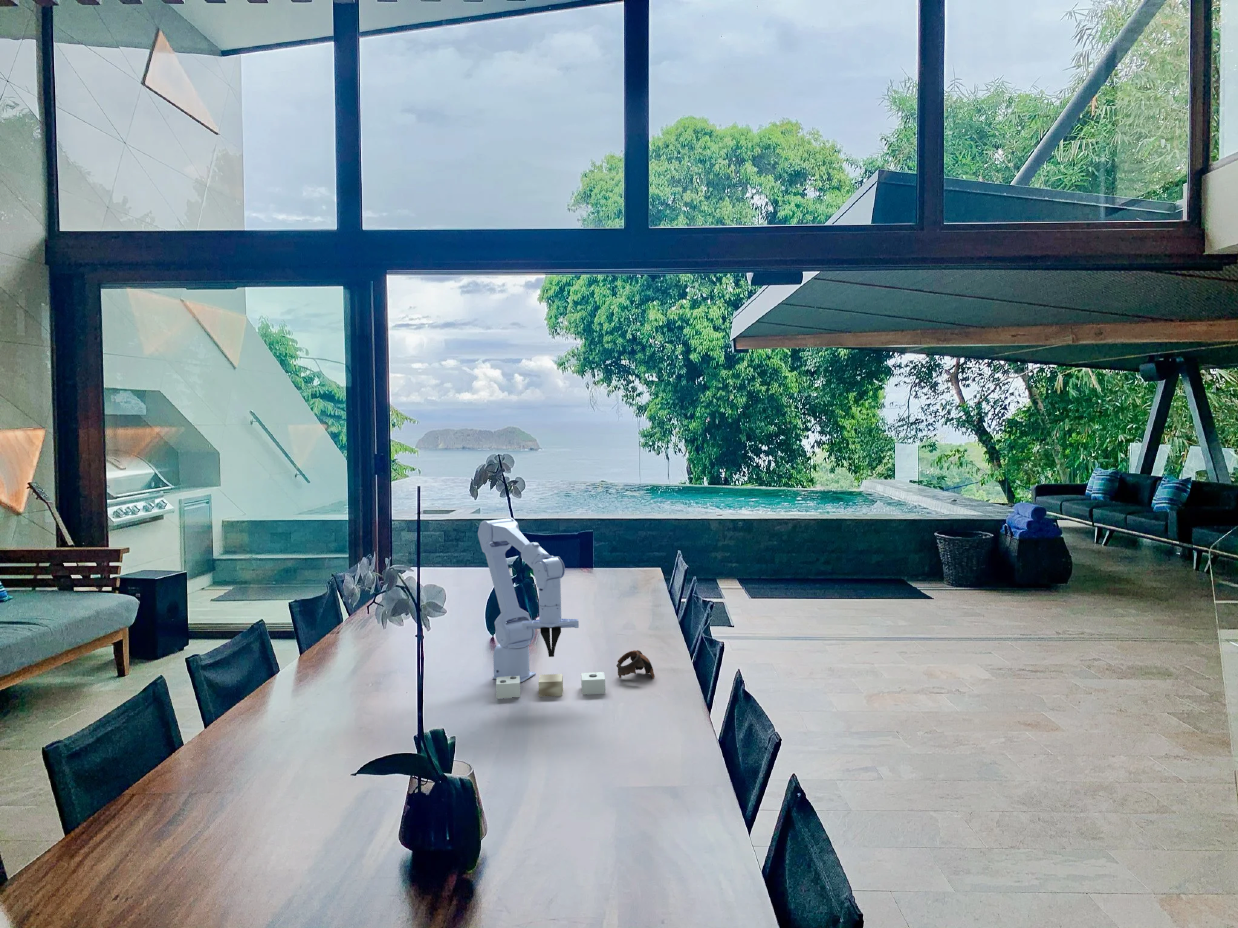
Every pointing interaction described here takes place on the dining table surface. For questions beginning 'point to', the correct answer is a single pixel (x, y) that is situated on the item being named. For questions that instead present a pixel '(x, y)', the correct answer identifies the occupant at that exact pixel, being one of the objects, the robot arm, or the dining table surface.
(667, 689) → the dining table surface
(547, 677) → the maple block
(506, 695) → the two-dot block
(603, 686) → the one-dot block
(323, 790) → the dining table surface
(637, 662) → the rusty brown arched frame
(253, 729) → the dining table surface
